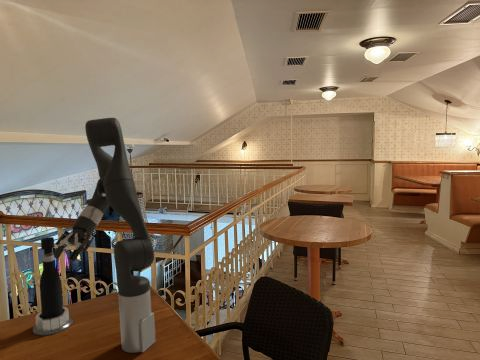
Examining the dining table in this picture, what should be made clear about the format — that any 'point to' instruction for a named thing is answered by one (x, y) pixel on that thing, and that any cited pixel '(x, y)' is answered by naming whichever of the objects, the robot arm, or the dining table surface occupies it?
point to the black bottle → (50, 283)
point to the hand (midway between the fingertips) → (62, 259)
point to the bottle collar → (52, 323)
